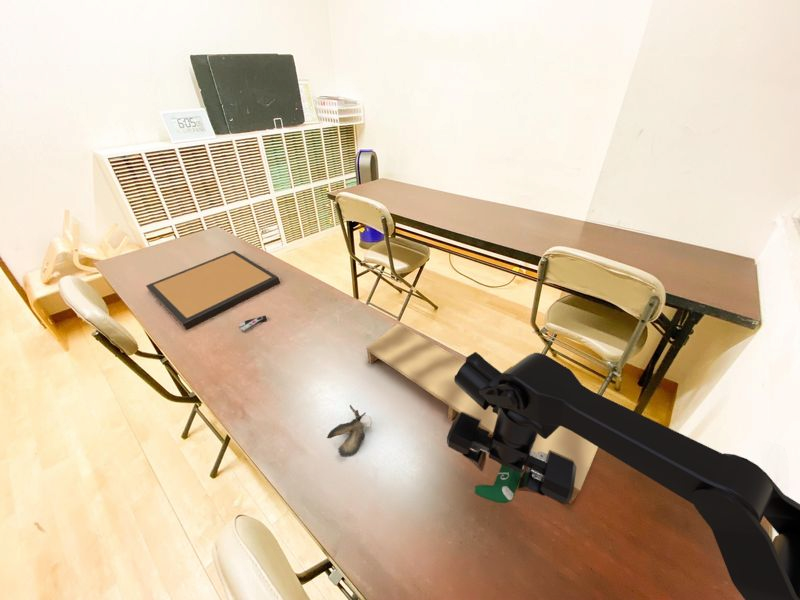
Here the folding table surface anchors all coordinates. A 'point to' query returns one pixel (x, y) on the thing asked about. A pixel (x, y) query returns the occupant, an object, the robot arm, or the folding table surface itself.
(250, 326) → the usb flash drive
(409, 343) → the shelf
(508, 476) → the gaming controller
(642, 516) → the folding table surface
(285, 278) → the folding table surface
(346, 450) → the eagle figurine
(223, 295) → the cork board
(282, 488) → the folding table surface
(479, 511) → the folding table surface
